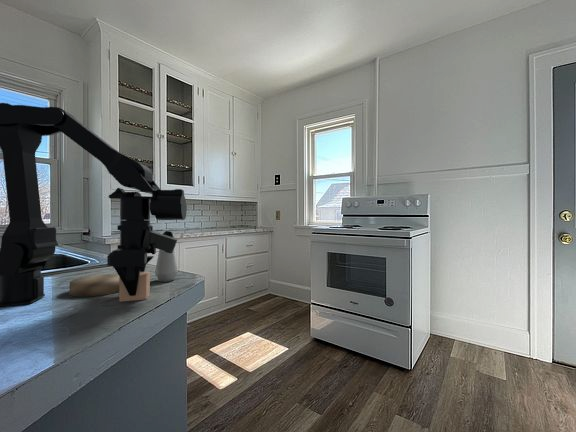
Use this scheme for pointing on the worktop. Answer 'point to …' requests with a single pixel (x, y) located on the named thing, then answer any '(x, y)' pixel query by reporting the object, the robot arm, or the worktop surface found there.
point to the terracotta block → (142, 288)
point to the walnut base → (95, 285)
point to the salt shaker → (166, 266)
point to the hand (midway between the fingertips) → (135, 292)
